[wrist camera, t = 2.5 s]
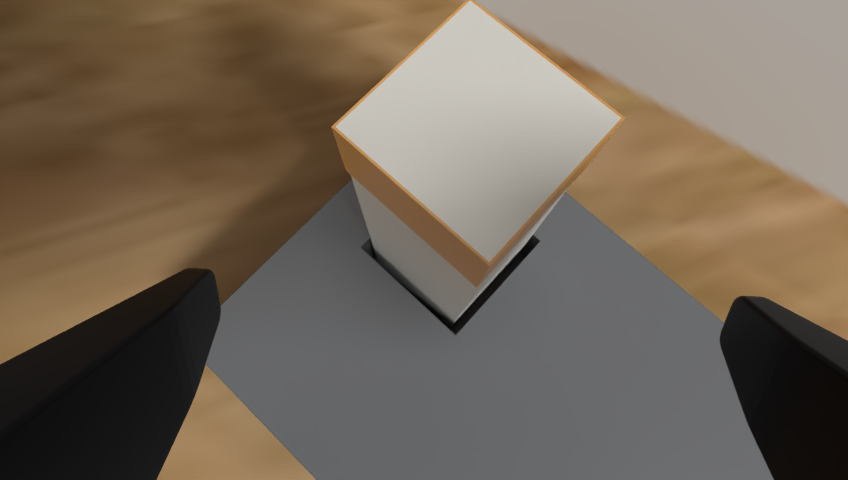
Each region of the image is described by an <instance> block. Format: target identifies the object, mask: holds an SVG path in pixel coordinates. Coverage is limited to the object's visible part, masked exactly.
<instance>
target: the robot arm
mask: <svg viewBox="0 0 848 480" xmlns="http://www.w3.org/2000/svg"><path fill="white" fill-rule="evenodd" d="M220 316H221V307H220V301H219V296H218V290H217V285H216V280H215V276H214V273H213V272H212V271H211V270H210V269H198V268H187V269H184V270H183V271H181V272H179V273H177V274H175V275H173V276H171V277H169V278H167V279H165V280H163V281H161V282H159V283H157V284H155V285H153V286H152V287H150V288H148V289H146V290H144V291H142V292H140V293H138V294H136V295H134V296H132V297H130V298H128V299H126V300H124V301H122V302H120V303H119V304H117V305H115V306H113V307H111V308H109V309H107V310H105V311H103V312H101V313H99V314H97V315H95V316H93V317H91V318H89V319H88V320H86V321H84V322H82V323H80V324H78V325H76V326H74V327H72V328H70V329H68V330H66V331H64V332H62V333H60V334H58V335H57V336H55V337H53V338H51V339H49V340H47V341H45V342H43V343H41V344H39V345H37V346H35V347H33V348H31V349H29V350H27V351H25V352H24V353H22V354H20V355H18V356H16V357H14V358H12V359H10V360H8V361H6V362H4V363H2V364H0V480H157V477H158V475H159V473H160V471H161V469H162V467H163V465H164V462H165V460H166V458H167V456H168V454H169V452H170V449H171V447H172V445H173V443H174V441H175V439H176V437H177V434H178V432H179V430H180V428H181V426H182V424H183V421H184V419H185V417H186V415H187V413H188V411H189V408H190V406H191V404H192V401H193V399H194V397H195V394H196V391H197V389H198V386H199V383H200V380H201V377H202V374H203V371H204V368H205V364H206V361H207V358H208V355H209V352H210V349H211V346H212V343H213V340H214V337H215V334H216V331H217V328H218V325H219V321H220ZM720 346H721V350H722V353H723V356H724V358H725V361H726V364H727V367H728V370H729V373H730V376H731V379H732V381H733V384H734V387H735V390H736V393H737V396H738V399H739V402H740V404H741V407H742V410H743V413H744V416H745V418H746V421H747V423H748V426H749V428H750V430H751V433H752V435H753V437H754V439H755V441H756V443H757V446H758V448H759V450H760V452H761V454H762V456H763V458H764V460H765V462H766V464H767V467H768V469H769V471H770V473H771V475H772V477H773V479H774V480H848V341H847V340H845V339H843V338H841V337H840V336H838V335H836V334H834V333H832V332H830V331H828V330H826V329H824V328H822V327H820V326H819V325H817V324H815V323H813V322H811V321H809V320H807V319H805V318H803V317H801V316H799V315H797V314H796V313H794V312H792V311H790V310H788V309H786V308H784V307H782V306H780V305H778V304H776V303H775V302H773V301H771V300H769V299H767V298H764V297H756V296H740V297H738V298H736V299H735V300H734V302H733V304H732V306H731V308H730V311H729V313H728V315H727V318H726V320H725V323H724V325H723V328H722V330H721V333H720Z"/></svg>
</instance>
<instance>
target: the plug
mask: <svg viewBox="0 0 848 480" xmlns="http://www.w3.org/2000/svg"><path fill="white" fill-rule="evenodd" d="M624 119H625V117H624V116H622V115H621V114H620V113H618V112H617V111H616V110H615V109H613V108H612V107H611V106H609V105H608V104H607V103H606V102H604V101H603V100H602V99H600V98H599V97H598V96H597V95H595V94H594V93H593V92H591V91H590V90H589V89H588V88H586V87H585V86H584V85H582V84H581V83H580V82H579V81H577V80H576V79H575V78H573V77H572V76H571V75H570V74H568V73H567V72H566V71H564V70H563V69H562V68H560V67H559V66H558V65H557V64H555V63H554V62H553V61H551V60H550V59H549V58H548V57H546V56H545V55H544V54H542V53H541V52H540V51H539V50H537V49H536V48H535V47H533V46H532V45H531V44H530V43H528V42H527V41H526V40H524V39H523V38H522V37H521V36H519V35H518V34H517V33H515V32H514V31H513V30H512V29H510V28H509V27H508V26H506V25H505V24H504V23H503V22H501V21H500V20H499V19H497V18H496V17H495V16H493V15H492V14H491V13H490V12H488V11H487V10H486V9H484V8H483V7H482V6H481V5H479V4H478V3H477V2H475V1H474V0H467V1H465V2H464V3H463V4H462V5H461V6H460V7H459V8H458V9H457V10H456V11H455V12H454V13H453V14H452V15H450V16H449V17H448V18H447V19H446V20H445V21H444V22H443V23H442V24H441V25H440V26H439V27H438V28H437V29H435V30H434V31H433V32H432V33H431V34H430V35H429V36H428V37H427V38H426V39H425V40H424V41H423V42H422V43H420V44H419V45H418V46H417V47H416V48H415V49H414V50H413V51H412V52H411V53H410V54H409V55H408V56H407V57H405V58H404V59H403V60H402V61H401V62H400V63H399V64H398V65H397V66H396V67H395V68H394V69H393V70H392V71H390V72H389V73H388V74H387V75H386V76H385V77H384V78H383V79H382V80H381V81H380V82H379V83H378V84H377V85H375V86H374V87H373V88H372V89H371V90H370V91H369V92H368V93H367V94H366V95H365V96H364V97H363V98H362V99H360V100H359V101H358V102H357V103H356V104H355V105H354V106H353V107H352V108H351V109H350V110H349V111H348V112H347V113H345V114H344V115H343V116H342V117H341V118H340V119H339V120H338V121H337V122H336V123H335V124H334V125H333V126H332V127H331V128H332V131H333V134H334V137H335V140H336V143H337V146H338V149H339V152H340V155H341V158H342V161H343V164H344V167H345V170H346V171H347V172H348V173H349V174H350V175H351V178H352V181H353V184H354V188H355V191H356V194H357V197H358V200H359V203H360V206H361V210H362V213H363V216H364V219H365V222H366V225H367V229H368V232H369V235H370V238H371V241H372V244H373V247H374V251H375V254H376V257H377V260H378V263H379V264H380V265H381V266H382V267H383V268H384V269H385V270H386V271H387V272H388V273H389V274H390V275H392V276H393V277H394V278H395V279H396V280H397V281H398V282H399V283H400V284H401V285H402V286H403V287H405V288H406V289H407V290H408V291H409V292H410V293H411V294H412V295H413V296H414V297H415V298H416V299H418V300H419V301H420V302H421V303H422V304H423V305H424V306H425V307H426V308H427V309H428V310H429V311H431V312H432V313H433V314H434V315H435V316H436V317H437V318H438V319H439V320H440V321H441V322H442V323H444V324H445V325H446V326H447V327H448V328H449V329H450V330H451V329H452V327H453V326H454V325H455V324H456V323H457V322H458V321H459V320H460V319H461V318H462V316H463V315H464V314H465V313H466V312H467V311H468V310H469V309H470V308H471V306H472V305H473V304H474V303H475V302H476V301H477V300H478V299H479V298H480V296H481V295H482V294H483V293H484V292H485V291H486V290H487V289H488V288H489V287H490V285H491V284H492V283H493V282H494V281H495V280H496V279H497V278H498V277H499V275H500V274H501V273H502V272H503V271H504V270H505V269H506V268H507V267H508V266H509V264H510V263H511V262H512V261H513V260H514V259H515V258H516V256H517V255H518V254H519V252H520V251H521V250H522V248H523V247H524V246H525V244H526V243H527V242H528V240H529V239H530V238H531V236H532V235H533V234H534V233H535V231H536V230H537V229H538V227H539V226H540V225H541V223H542V222H543V221H544V219H545V218H546V217H547V215H548V214H549V213H550V211H551V210H552V209H553V207H554V206H555V205H556V204H557V202H558V201H559V200H560V198H561V197H562V196H563V194H564V193H565V192H566V190H567V189H568V188H569V186H570V185H571V184H572V183H573V182H574V180H575V179H576V178H577V177H578V176H579V175H580V174H581V173H582V172H583V171H584V169H585V168H586V167H587V166H588V165H589V164H590V163H591V162H592V160H593V159H594V158H595V156H596V155H597V154H598V153H599V151H600V150H601V149H602V147H603V146H604V145H605V143H606V142H607V141H608V140H609V138H610V137H611V136H612V134H613V133H614V132H615V131H616V129H617V128H618V127H619V125H620V124H621V123H622V121H623V120H624Z"/></svg>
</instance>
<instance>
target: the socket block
mask: <svg viewBox="0 0 848 480" xmlns="http://www.w3.org/2000/svg"><path fill="white" fill-rule="evenodd" d="M220 307H221V316H220V321H219V325H218V328H217V331H216V334H215V337H214V340H213V343H212V346H211V349H210V352H209V355H208V358H207V361H206V365H207V366H208V367H209V368H210V369H211V370H212V371H213V372H214V373H215V374H216V375H217V376H218V377H219V378H220V379H221V380H222V381H223V383H224V384H225V385H226V386H227V387H228V388H229V389H230V390H231V391H232V392H233V393H234V394H235V395H236V396H237V397H238V398H239V399H240V400H241V401H242V402H243V403H244V404H245V406H246V407H247V408H248V409H249V410H250V411H251V412H252V413H253V414H254V415H255V416H256V417H257V418H258V419H259V420H260V421H261V422H262V423H263V424H264V425H265V426H266V427H267V428H268V430H269V431H270V432H271V433H272V434H273V435H274V436H275V437H276V438H277V439H278V440H279V441H280V442H281V443H282V444H283V445H284V446H285V447H286V448H287V449H288V450H289V451H290V453H291V454H292V455H293V456H294V457H295V458H296V459H297V460H298V461H299V462H300V463H301V464H302V465H303V466H304V467H305V468H306V469H307V470H308V471H309V472H310V473H311V474H312V476H313V477H314V478H315V479H316V480H774V479H773V477H772V475H771V473H770V471H769V469H768V467H767V464H766V462H765V460H764V458H763V456H762V454H761V452H760V450H759V448H758V446H757V443H756V441H755V439H754V437H753V435H752V433H751V430H750V428H749V426H748V423H747V421H746V418H745V416H744V413H743V410H742V407H741V404H740V402H739V399H738V396H737V393H736V390H735V387H734V384H733V381H732V379H731V376H730V373H729V370H728V367H727V364H726V361H725V358H724V356H723V353H722V350H721V346H720V333H721V330H722V328H723V325H724V322H722V321H721V320H720V319H719V318H718V317H716V316H715V315H714V314H713V313H711V312H710V311H709V310H708V309H707V308H705V307H704V306H703V305H702V304H701V303H699V302H698V301H697V300H696V299H694V298H693V297H692V296H691V295H690V294H688V293H687V292H686V291H685V290H684V289H682V288H681V287H680V286H679V285H678V284H676V283H675V282H674V281H673V280H671V279H670V278H669V277H668V276H667V275H665V274H664V273H663V272H662V271H661V270H659V269H658V268H657V267H656V266H654V265H653V264H652V263H651V262H650V261H648V260H647V259H646V258H645V257H644V256H642V255H641V254H640V253H639V252H638V251H636V250H635V249H634V248H633V247H631V246H630V245H629V244H628V243H627V242H625V241H624V240H623V239H622V238H621V237H619V236H618V235H617V234H616V233H614V232H613V231H612V230H611V229H610V228H608V227H607V226H606V225H605V224H604V223H602V222H601V221H600V220H599V219H597V218H596V217H595V216H594V215H593V214H591V213H590V212H589V211H588V210H587V209H585V208H584V207H583V206H582V205H581V204H579V203H578V202H577V201H576V200H574V199H573V198H572V197H571V196H570V195H568V194H567V193H566V192H565V193H564V194H563V196H562V197H561V198H560V200H559V201H558V202H557V204H556V205H555V206H554V207H553V209H552V210H551V211H550V213H549V214H548V215H547V217H546V218H545V219H544V221H543V222H542V223H541V225H540V226H539V227H538V229H537V230H536V231H535V233H534V234H533V235H532V236H531V238H530V239H529V240H528V242H527V243H526V244H525V246H524V247H523V248H522V250H521V251H520V252H519V254H518V255H517V256H516V258H515V259H514V260H513V261H512V262H511V263H510V264H509V266H508V267H507V268H506V269H505V270H504V271H503V272H502V273H501V274H500V275H499V277H498V278H497V279H496V280H495V281H494V282H493V283H492V284H491V285H490V287H489V288H488V289H487V290H486V291H485V292H484V293H483V294H482V295H481V296H480V298H479V299H478V300H477V301H476V302H475V303H474V304H473V305H472V306H471V308H470V309H469V310H468V311H467V312H466V313H465V314H464V315H463V316H462V318H461V319H460V320H459V321H458V322H457V323H456V324H455V325H454V326H453V327H452V329H451V330H450V329H449V328H448V327H447V326H446V325H445V324H444V323H442V322H441V321H440V320H439V319H438V318H437V317H436V316H435V315H434V314H433V313H432V312H431V311H429V310H428V309H427V308H426V307H425V306H424V305H423V304H422V303H421V302H420V301H419V300H418V299H416V298H415V297H414V296H413V295H412V294H411V293H410V292H409V291H408V290H407V289H406V288H405V287H403V286H402V285H401V284H400V283H399V282H398V281H397V280H396V279H395V278H394V277H393V276H392V275H390V274H389V273H388V272H387V271H386V270H385V269H384V268H383V267H382V266H381V265H380V264H379V263H378V260H377V257H376V254H375V251H374V247H373V244H372V241H371V238H370V235H369V232H368V229H367V225H366V222H365V219H364V216H363V213H362V210H361V206H360V203H359V200H358V197H357V194H356V191H355V188H354V184H353V181H352V179H351V180H350V181H349V182H348V183H347V184H346V185H345V186H344V187H343V188H342V189H341V190H340V191H339V192H338V193H336V194H335V195H334V196H333V197H332V198H331V199H330V200H329V201H328V202H327V203H326V204H325V205H324V206H323V207H322V208H321V209H320V210H319V211H318V212H317V213H316V214H315V215H314V216H313V217H312V218H311V219H310V220H309V221H308V222H307V223H306V224H305V225H304V226H302V227H301V228H300V229H299V230H298V231H297V232H296V233H295V234H294V235H293V236H292V237H291V238H290V239H289V240H288V241H287V242H286V243H285V244H284V245H283V246H282V247H281V248H280V249H279V250H278V251H277V252H276V253H275V254H274V255H273V256H272V257H271V258H270V259H268V260H267V261H266V262H265V263H264V264H263V265H262V266H261V267H260V268H259V269H258V270H257V271H256V272H255V273H254V274H253V275H252V276H251V277H250V278H249V279H248V280H247V281H246V282H245V283H244V284H243V285H242V286H241V287H240V288H239V289H238V290H237V291H235V292H234V293H233V294H232V295H231V296H230V297H229V298H228V299H227V300H226V301H225V302H224V303H223V304H222V305H221V306H220Z"/></svg>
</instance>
